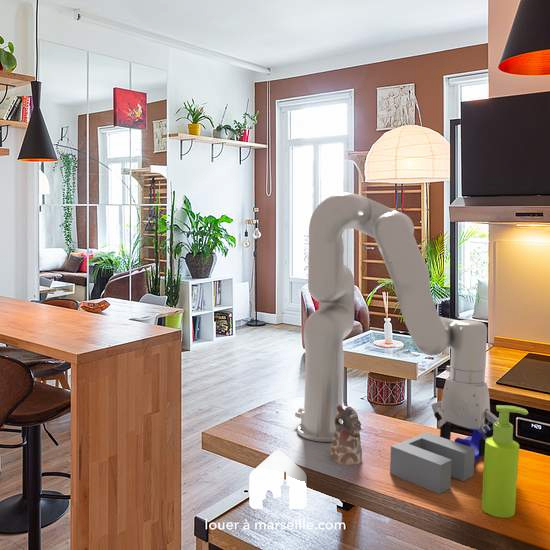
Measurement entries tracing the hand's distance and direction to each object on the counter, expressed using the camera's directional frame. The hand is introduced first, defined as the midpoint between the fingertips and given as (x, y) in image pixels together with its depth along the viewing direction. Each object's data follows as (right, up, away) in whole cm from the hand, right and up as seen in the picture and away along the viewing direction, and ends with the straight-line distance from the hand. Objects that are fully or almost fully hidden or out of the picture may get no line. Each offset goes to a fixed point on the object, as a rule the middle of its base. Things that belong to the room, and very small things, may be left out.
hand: (464, 448), depth 134 cm
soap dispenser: (-1, -5, -24) cm, 25 cm away
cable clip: (+1, -3, 0) cm, 3 cm away
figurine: (-27, -2, -2) cm, 28 cm away
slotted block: (-10, -3, -10) cm, 14 cm away
